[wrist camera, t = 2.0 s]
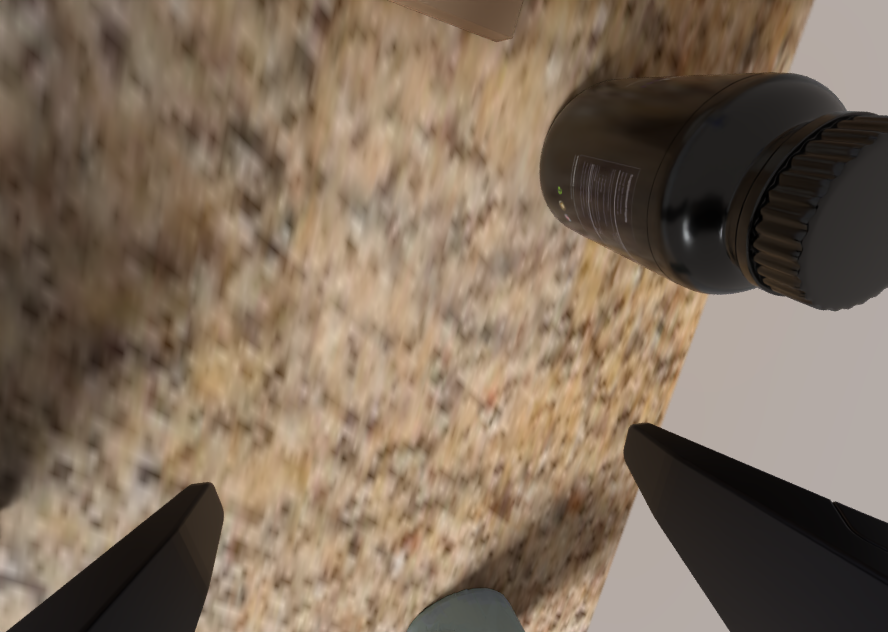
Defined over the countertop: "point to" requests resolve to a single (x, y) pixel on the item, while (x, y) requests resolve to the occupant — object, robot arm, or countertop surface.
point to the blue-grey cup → (468, 614)
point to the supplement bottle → (728, 183)
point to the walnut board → (472, 15)
